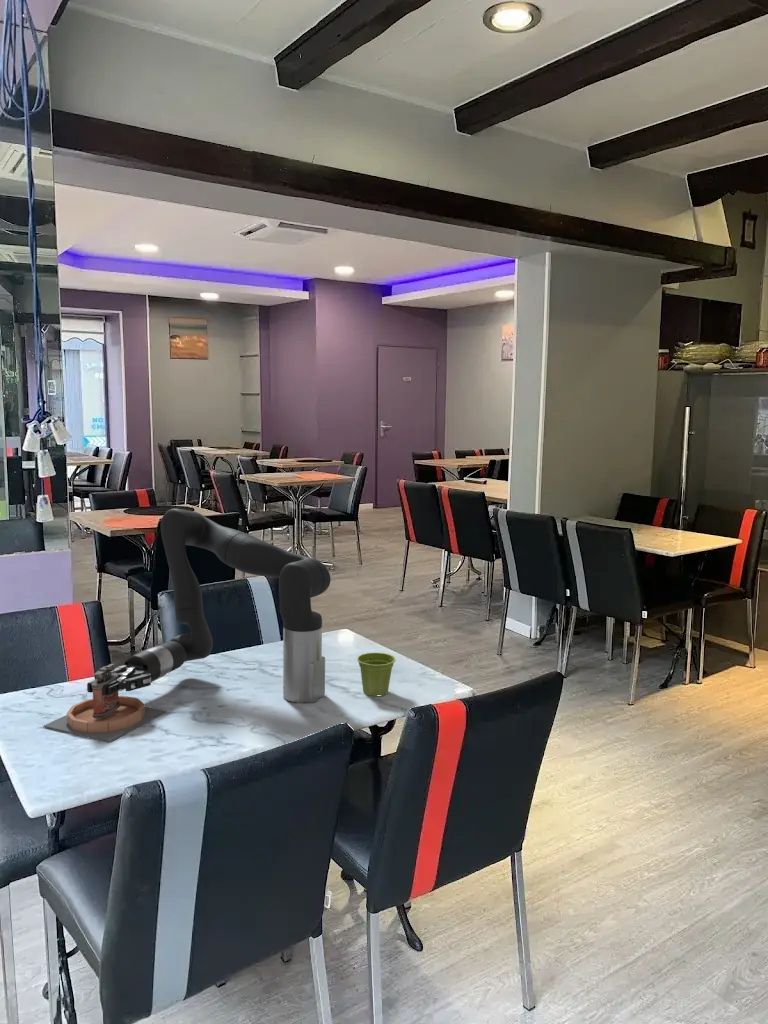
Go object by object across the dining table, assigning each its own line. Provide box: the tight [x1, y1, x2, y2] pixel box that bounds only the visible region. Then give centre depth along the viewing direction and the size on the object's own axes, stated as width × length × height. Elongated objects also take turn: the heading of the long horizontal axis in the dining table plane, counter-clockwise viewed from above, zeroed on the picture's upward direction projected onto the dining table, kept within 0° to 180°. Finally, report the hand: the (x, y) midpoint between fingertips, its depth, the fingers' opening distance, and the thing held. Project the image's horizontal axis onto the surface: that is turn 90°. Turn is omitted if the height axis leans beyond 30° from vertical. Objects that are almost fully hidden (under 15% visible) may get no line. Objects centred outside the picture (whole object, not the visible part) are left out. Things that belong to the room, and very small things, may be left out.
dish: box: [66, 695, 146, 733], centre depth 169 cm, size 16×16×2 cm
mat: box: [43, 705, 167, 743], centre depth 169 cm, size 18×18×1 cm
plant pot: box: [356, 652, 397, 697], centre depth 188 cm, size 9×9×9 cm
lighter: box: [92, 663, 120, 719], centre depth 168 cm, size 8×3×10 cm, turn 168°
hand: (96, 689), depth 165 cm, fingers closed on lighter, 3 cm apart
